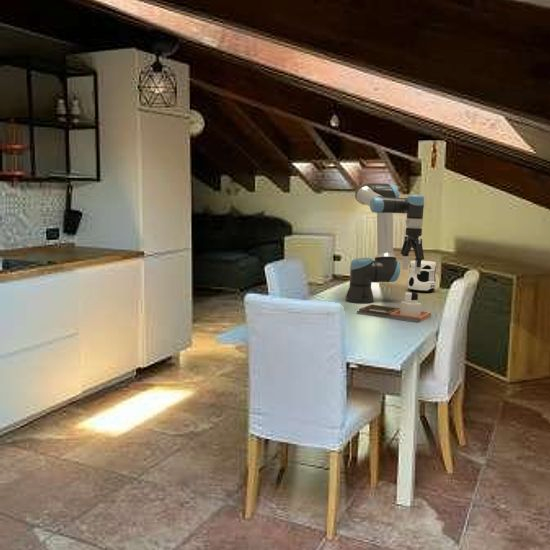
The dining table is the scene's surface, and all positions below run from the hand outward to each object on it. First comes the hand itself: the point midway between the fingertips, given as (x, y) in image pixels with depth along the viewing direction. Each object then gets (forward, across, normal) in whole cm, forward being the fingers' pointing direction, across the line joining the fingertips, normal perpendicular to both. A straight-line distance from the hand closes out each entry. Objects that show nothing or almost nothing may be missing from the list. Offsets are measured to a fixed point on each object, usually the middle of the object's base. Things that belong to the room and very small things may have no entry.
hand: (410, 271), depth 291 cm
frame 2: (+22, +3, 0) cm, 22 cm away
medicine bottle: (+22, +3, 0) cm, 22 cm away
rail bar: (+22, +4, -12) cm, 25 cm away
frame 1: (+22, -8, -12) cm, 26 cm away
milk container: (+24, -69, +41) cm, 84 cm away
